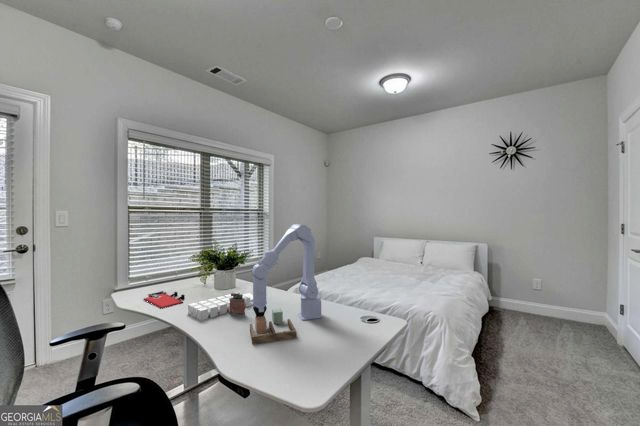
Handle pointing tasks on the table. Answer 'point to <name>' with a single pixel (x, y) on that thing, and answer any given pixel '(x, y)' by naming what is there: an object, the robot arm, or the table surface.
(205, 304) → the organizer
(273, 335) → the rack
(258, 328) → the terracotta block
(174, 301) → the red board with handle
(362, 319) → the table surface
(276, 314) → the sage block
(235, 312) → the red printed tin
